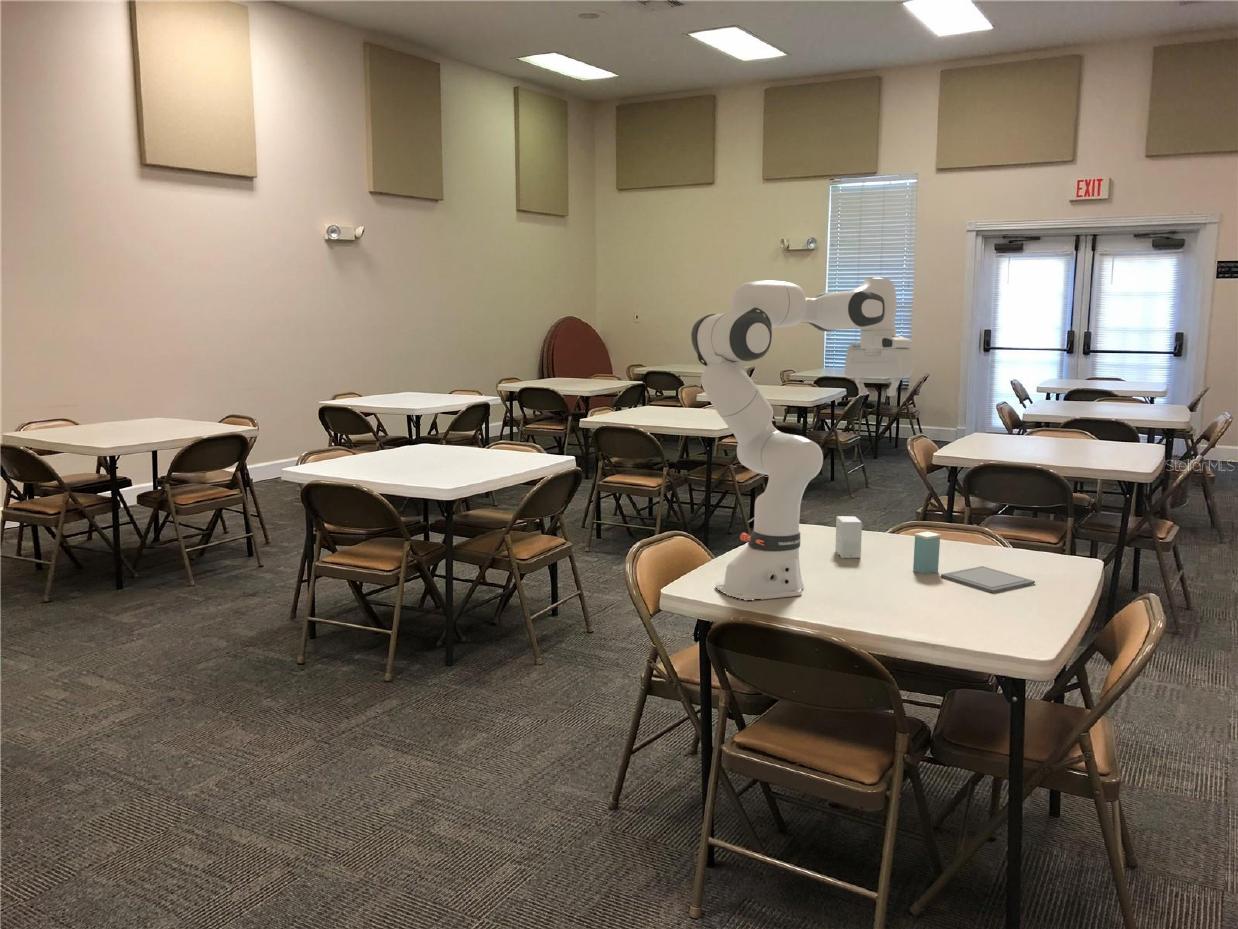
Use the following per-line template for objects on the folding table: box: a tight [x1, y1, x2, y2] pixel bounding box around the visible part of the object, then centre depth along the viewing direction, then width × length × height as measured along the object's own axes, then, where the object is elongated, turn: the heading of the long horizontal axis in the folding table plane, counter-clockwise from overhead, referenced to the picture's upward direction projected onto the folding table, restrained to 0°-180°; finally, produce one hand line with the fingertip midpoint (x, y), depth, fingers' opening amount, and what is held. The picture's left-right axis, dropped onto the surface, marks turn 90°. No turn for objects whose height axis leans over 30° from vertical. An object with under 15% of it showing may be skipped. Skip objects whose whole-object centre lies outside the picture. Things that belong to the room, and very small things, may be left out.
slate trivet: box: [940, 566, 1036, 594], centre depth 231 cm, size 16×16×1 cm
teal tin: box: [912, 531, 941, 575], centre depth 239 cm, size 5×4×10 cm
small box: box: [834, 515, 863, 559], centre depth 256 cm, size 8×6×10 cm
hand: (876, 395), depth 234 cm, fingers open, 8 cm apart
